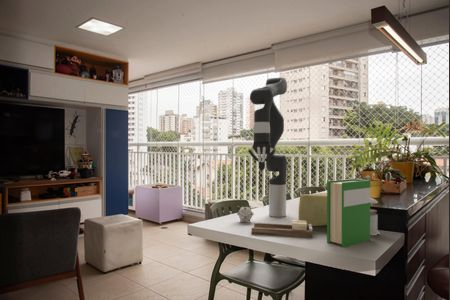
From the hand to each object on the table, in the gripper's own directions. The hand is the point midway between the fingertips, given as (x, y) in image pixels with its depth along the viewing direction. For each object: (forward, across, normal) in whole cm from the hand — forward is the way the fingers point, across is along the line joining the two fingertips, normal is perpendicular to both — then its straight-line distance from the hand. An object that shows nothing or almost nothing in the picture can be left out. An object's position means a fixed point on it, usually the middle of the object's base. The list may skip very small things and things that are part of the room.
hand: (261, 170), depth 145 cm
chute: (+27, -9, +6) cm, 29 cm away
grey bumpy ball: (+27, +9, -11) cm, 31 cm away
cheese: (+27, -26, -13) cm, 40 cm away
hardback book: (+27, -36, +13) cm, 47 cm away
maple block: (+26, -17, +6) cm, 31 cm away
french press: (+27, -46, -4) cm, 53 cm away
